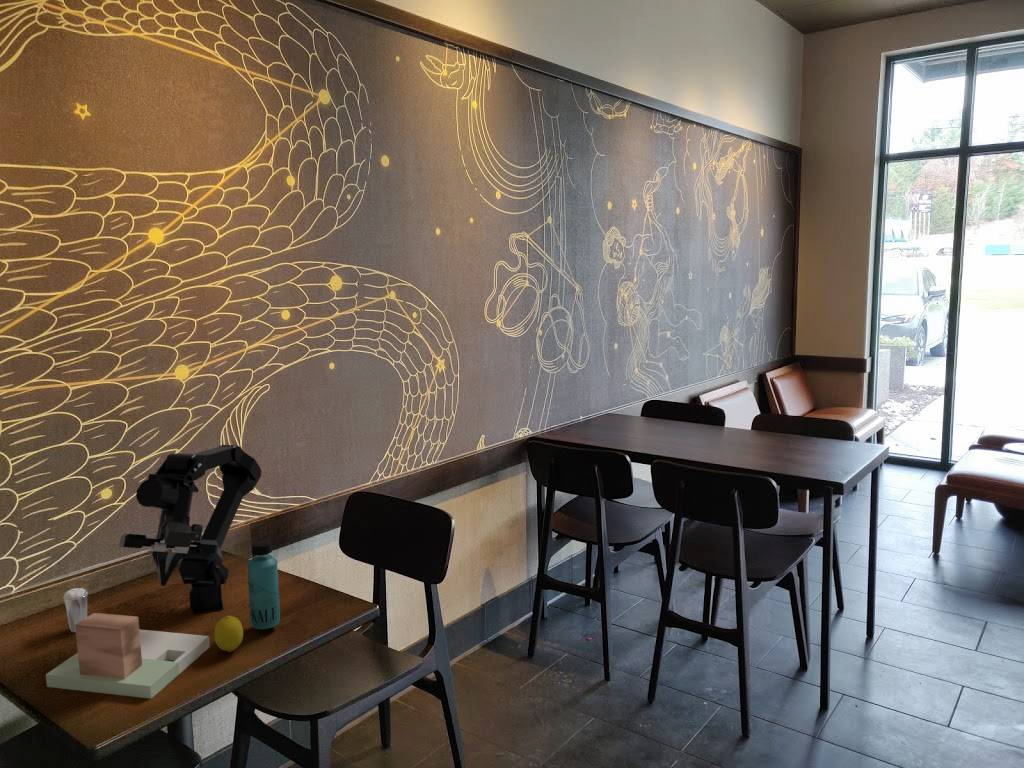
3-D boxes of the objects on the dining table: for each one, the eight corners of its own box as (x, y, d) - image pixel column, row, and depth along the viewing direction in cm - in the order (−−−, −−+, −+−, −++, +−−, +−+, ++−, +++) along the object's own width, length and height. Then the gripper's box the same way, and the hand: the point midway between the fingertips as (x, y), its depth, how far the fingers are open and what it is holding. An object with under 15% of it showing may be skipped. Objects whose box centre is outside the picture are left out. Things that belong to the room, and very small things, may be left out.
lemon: (227, 661, 152) (225, 624, 150) (209, 654, 155) (207, 617, 153) (249, 649, 156) (247, 613, 155) (232, 642, 159) (230, 607, 158)
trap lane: (115, 638, 161) (114, 627, 161) (209, 647, 157) (208, 636, 157) (46, 686, 143) (45, 674, 142) (151, 698, 139) (150, 686, 138)
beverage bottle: (269, 619, 170) (264, 534, 166) (288, 627, 166) (283, 541, 163) (244, 630, 164) (238, 543, 161) (262, 639, 161) (258, 550, 157)
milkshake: (83, 635, 162) (79, 591, 161) (61, 632, 163) (57, 589, 162) (98, 625, 167) (94, 583, 165) (77, 623, 168) (73, 580, 166)
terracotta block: (98, 660, 147) (94, 612, 146) (142, 665, 146) (138, 616, 144) (79, 674, 142) (75, 624, 141) (124, 678, 141) (120, 629, 139)
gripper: (136, 505, 151) (121, 586, 147) (230, 515, 162) (218, 590, 158) (125, 507, 160) (111, 582, 156) (215, 515, 170) (203, 586, 167)
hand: (162, 585), depth 159 cm, fingers closed
